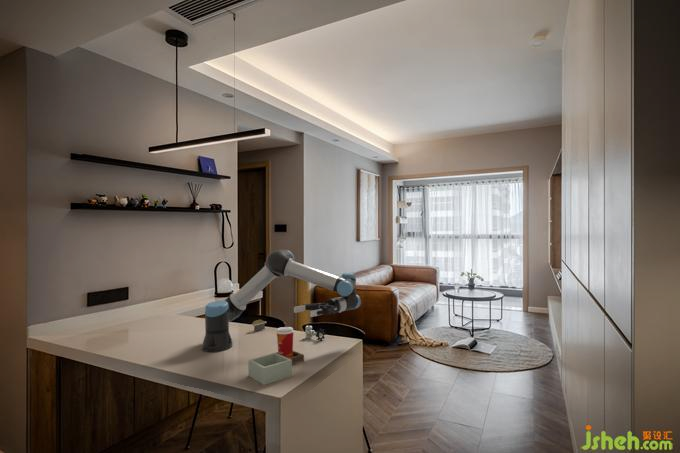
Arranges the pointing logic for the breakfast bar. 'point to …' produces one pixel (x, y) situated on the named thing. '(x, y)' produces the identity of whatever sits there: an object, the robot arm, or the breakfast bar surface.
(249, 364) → the box
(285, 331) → the coffee cup
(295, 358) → the walnut collar
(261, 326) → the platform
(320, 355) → the breakfast bar surface
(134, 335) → the breakfast bar surface
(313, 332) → the valve
